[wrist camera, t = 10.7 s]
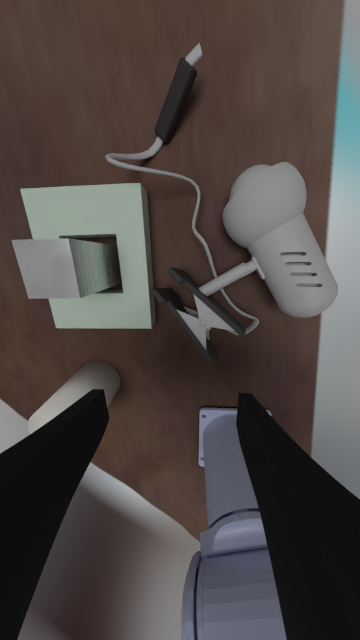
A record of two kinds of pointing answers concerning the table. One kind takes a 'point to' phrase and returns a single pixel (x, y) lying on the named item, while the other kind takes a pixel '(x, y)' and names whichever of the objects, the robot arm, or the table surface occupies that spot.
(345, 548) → the robot arm
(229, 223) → the clip-on lamp
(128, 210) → the socket board
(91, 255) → the steel square peg
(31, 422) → the cream round peg
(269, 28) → the table surface
